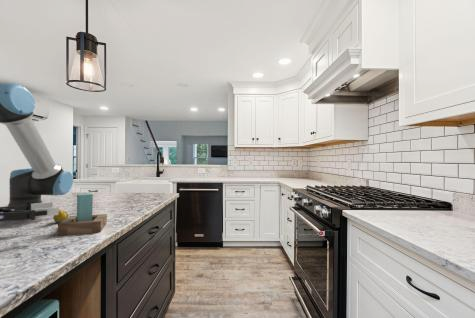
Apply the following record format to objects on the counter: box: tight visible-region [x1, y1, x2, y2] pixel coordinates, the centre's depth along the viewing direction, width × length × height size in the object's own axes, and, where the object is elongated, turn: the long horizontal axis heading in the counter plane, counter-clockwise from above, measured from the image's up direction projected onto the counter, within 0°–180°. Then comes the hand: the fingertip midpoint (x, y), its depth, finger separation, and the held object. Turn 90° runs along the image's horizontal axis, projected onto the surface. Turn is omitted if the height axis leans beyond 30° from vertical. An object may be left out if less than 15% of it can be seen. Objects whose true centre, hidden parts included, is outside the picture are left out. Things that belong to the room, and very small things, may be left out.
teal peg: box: [76, 192, 94, 221], centre depth 100 cm, size 4×4×14 cm
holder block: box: [57, 213, 108, 236], centre depth 100 cm, size 14×14×4 cm
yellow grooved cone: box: [52, 209, 69, 224], centre depth 108 cm, size 5×5×10 cm
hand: (55, 208), depth 93 cm, fingers open, 13 cm apart
